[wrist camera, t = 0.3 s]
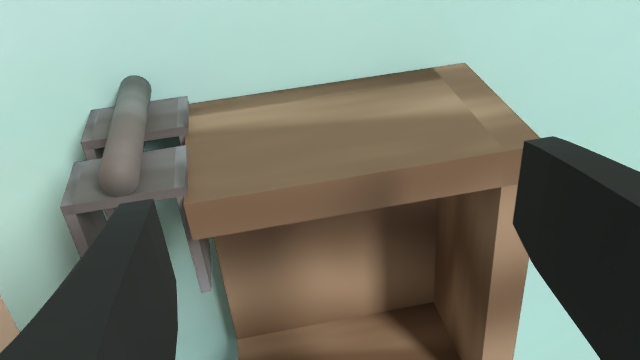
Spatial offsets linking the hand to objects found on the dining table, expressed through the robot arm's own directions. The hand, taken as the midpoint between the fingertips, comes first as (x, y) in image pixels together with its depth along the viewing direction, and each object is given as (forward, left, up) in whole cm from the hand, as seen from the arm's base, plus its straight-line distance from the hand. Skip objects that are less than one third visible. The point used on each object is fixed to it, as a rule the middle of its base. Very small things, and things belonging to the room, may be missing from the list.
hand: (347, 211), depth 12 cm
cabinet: (-7, 0, -10) cm, 12 cm away
